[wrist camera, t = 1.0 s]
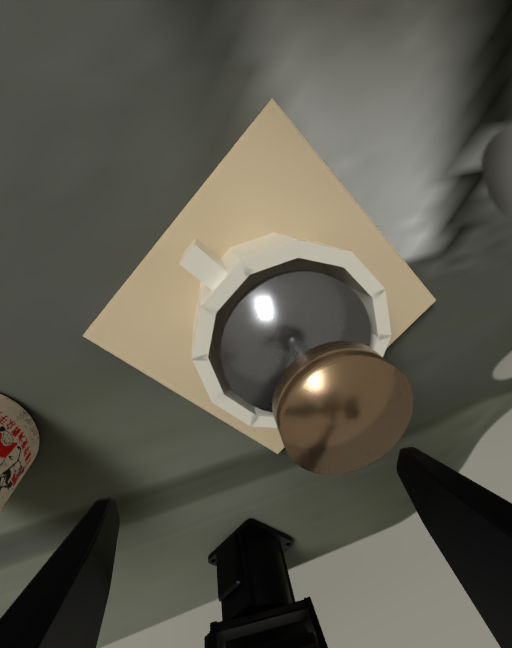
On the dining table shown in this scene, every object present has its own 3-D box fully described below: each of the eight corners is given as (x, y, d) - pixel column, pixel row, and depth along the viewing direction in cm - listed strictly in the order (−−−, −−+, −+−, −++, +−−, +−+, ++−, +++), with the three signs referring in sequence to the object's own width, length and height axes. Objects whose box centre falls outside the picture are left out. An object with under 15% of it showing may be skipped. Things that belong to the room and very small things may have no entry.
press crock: (428, 297, 23) (495, 323, 18) (275, 447, 26) (294, 507, 21) (268, 103, 17) (301, 53, 11) (86, 331, 20) (45, 376, 14)
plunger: (392, 333, 17) (492, 398, 11) (294, 428, 19) (338, 531, 13) (296, 234, 14) (366, 252, 8) (187, 357, 16) (180, 448, 10)
